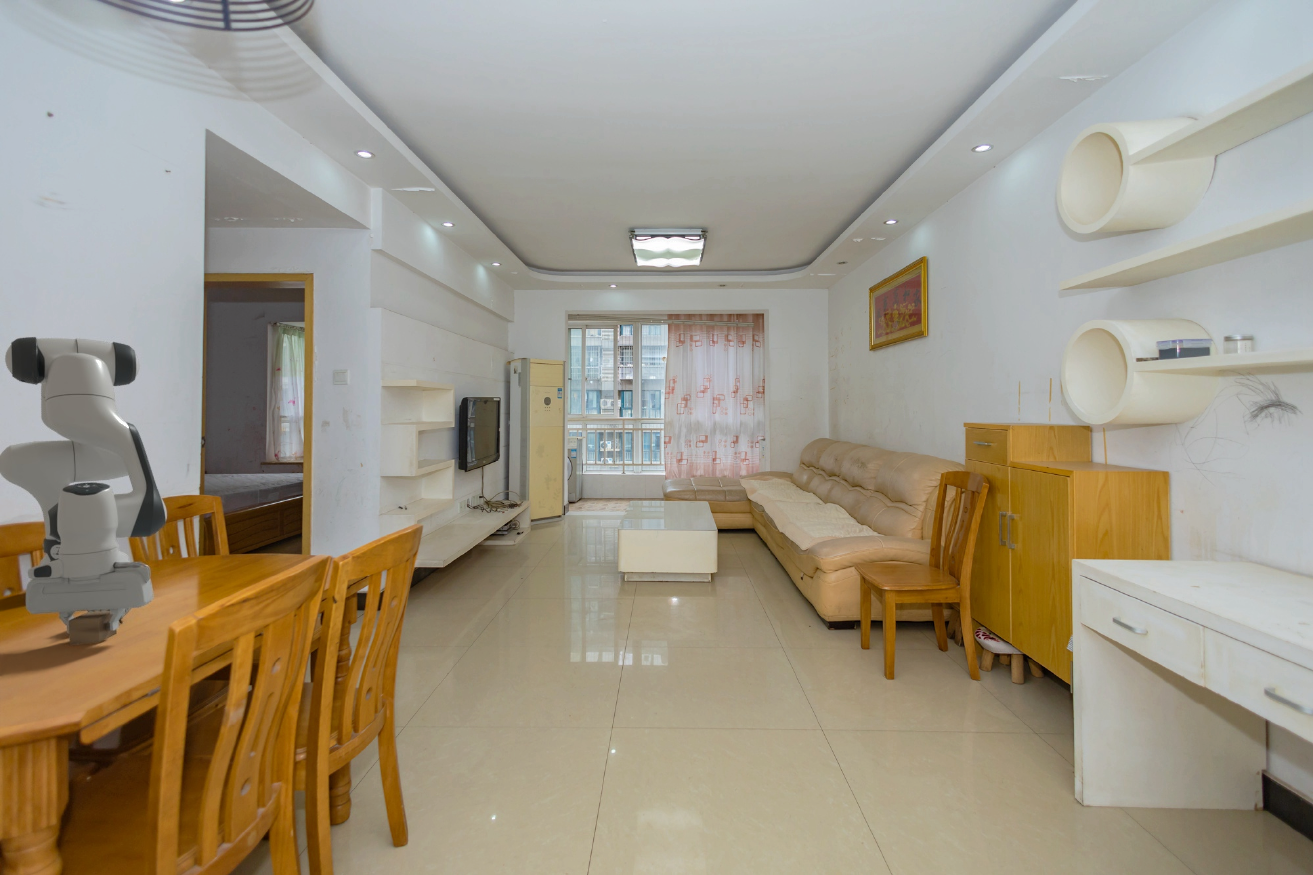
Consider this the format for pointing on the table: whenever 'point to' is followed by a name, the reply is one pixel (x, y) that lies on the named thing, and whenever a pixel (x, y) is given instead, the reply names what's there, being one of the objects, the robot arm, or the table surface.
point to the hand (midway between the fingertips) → (93, 630)
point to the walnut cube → (90, 628)
